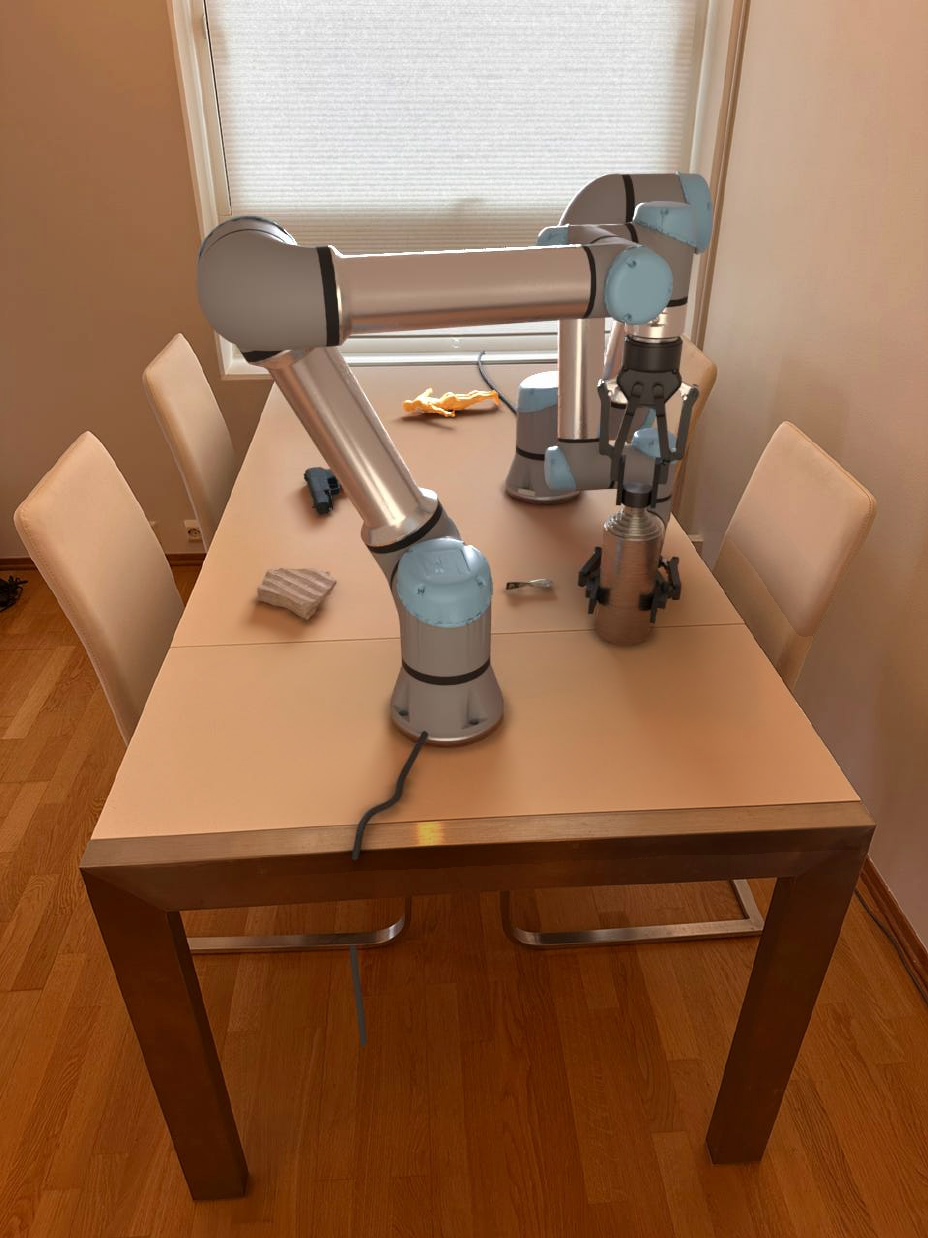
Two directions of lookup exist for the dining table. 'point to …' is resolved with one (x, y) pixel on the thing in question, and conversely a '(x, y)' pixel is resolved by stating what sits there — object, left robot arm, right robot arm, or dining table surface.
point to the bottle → (628, 576)
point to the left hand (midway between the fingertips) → (635, 502)
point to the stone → (296, 589)
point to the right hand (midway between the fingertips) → (621, 610)
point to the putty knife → (529, 584)
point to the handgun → (322, 488)
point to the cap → (636, 494)
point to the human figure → (448, 402)
